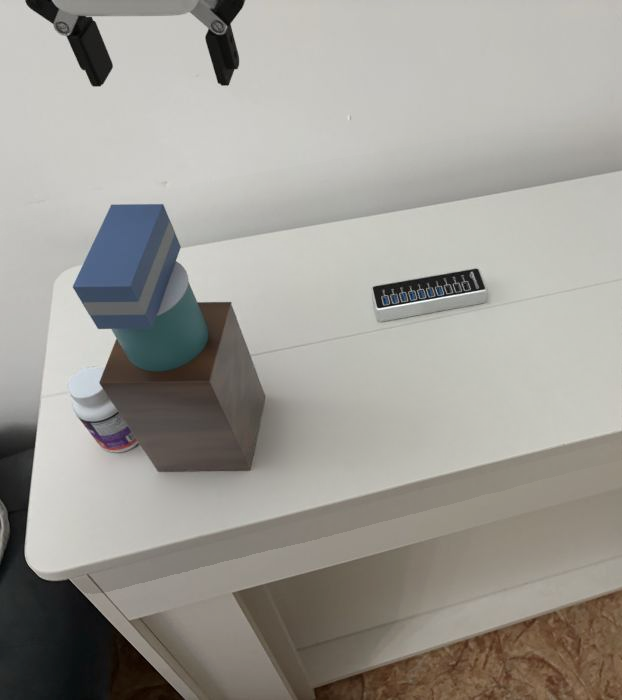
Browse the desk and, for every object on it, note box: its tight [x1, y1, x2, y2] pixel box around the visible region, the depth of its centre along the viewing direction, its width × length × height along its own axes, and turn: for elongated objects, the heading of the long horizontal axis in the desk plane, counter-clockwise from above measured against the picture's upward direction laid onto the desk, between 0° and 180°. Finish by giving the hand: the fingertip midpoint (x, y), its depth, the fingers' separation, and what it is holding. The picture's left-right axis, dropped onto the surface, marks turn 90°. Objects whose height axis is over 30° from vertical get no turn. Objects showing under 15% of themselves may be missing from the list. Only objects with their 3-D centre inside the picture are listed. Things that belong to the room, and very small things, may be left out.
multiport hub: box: [370, 267, 488, 323], centre depth 92 cm, size 4×14×2 cm, turn 104°
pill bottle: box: [67, 366, 139, 453], centre depth 76 cm, size 5×5×10 cm
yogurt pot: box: [111, 260, 209, 372], centre depth 65 cm, size 8×8×7 cm
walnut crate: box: [99, 301, 266, 473], centre depth 74 cm, size 10×10×16 cm
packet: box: [72, 203, 182, 330], centre depth 60 cm, size 10×4×5 cm, turn 1°
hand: (165, 77), depth 55 cm, fingers open, 9 cm apart
